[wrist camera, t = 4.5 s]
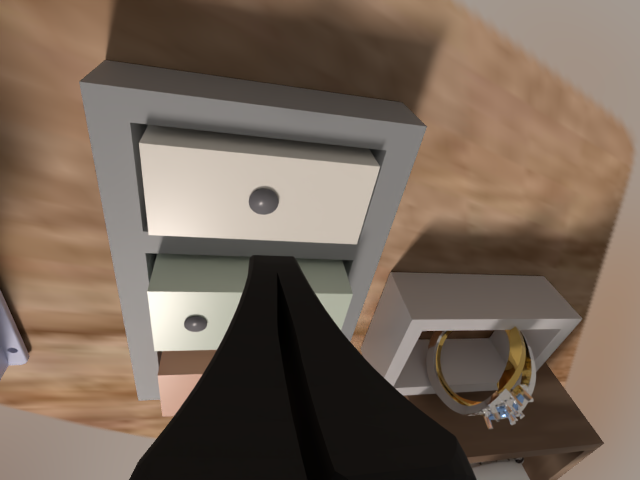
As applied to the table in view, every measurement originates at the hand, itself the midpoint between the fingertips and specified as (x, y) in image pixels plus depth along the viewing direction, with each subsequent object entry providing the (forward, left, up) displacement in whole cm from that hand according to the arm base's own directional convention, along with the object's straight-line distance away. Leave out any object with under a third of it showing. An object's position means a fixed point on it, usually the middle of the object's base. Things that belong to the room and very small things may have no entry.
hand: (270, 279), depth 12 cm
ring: (-11, -15, -8) cm, 20 cm away
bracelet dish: (-11, -15, -8) cm, 20 cm away
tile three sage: (-6, 0, -6) cm, 9 cm away
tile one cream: (0, 0, -8) cm, 8 cm away
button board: (-6, 0, -8) cm, 10 cm away
